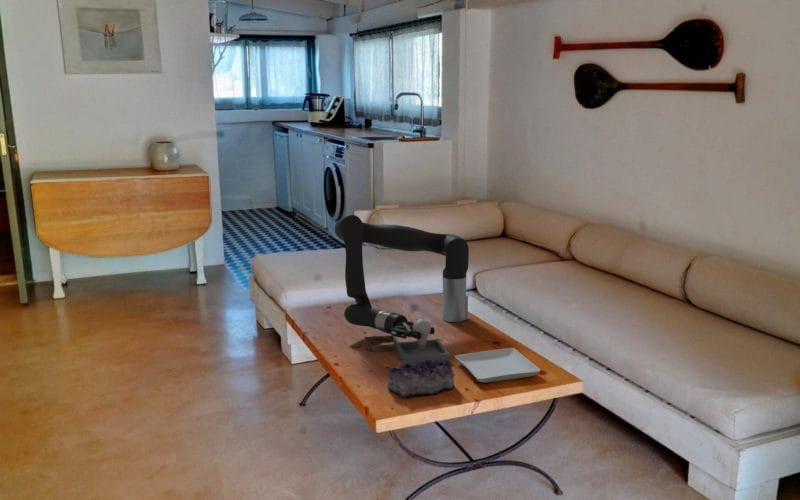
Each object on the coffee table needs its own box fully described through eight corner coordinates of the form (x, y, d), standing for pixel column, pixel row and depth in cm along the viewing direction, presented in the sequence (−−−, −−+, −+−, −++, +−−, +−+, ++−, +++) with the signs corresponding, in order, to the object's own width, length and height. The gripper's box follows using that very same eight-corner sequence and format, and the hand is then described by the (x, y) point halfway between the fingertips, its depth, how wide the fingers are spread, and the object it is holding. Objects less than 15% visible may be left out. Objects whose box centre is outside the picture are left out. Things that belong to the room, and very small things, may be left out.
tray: (438, 347, 246) (437, 339, 245) (449, 362, 231) (449, 353, 231) (395, 350, 243) (395, 342, 242) (405, 366, 228) (405, 357, 228)
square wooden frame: (394, 339, 255) (394, 334, 254) (401, 349, 244) (400, 344, 244) (364, 341, 252) (364, 336, 252) (369, 352, 242) (369, 347, 242)
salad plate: (477, 388, 211) (478, 378, 210) (453, 363, 231) (453, 354, 230) (542, 380, 217) (542, 369, 216) (513, 356, 237) (513, 347, 236)
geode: (445, 377, 219) (447, 348, 216) (459, 396, 209) (462, 366, 206) (382, 384, 213) (384, 354, 210) (394, 404, 202) (396, 373, 199)
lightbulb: (431, 353, 234) (431, 322, 231) (412, 353, 234) (412, 322, 231) (430, 347, 240) (430, 316, 237) (412, 347, 240) (412, 316, 237)
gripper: (376, 317, 239) (412, 328, 228) (405, 308, 249) (441, 317, 238) (376, 338, 241) (412, 350, 229) (405, 328, 251) (441, 338, 240)
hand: (427, 333), depth 234 cm, fingers closed on lightbulb, 6 cm apart
